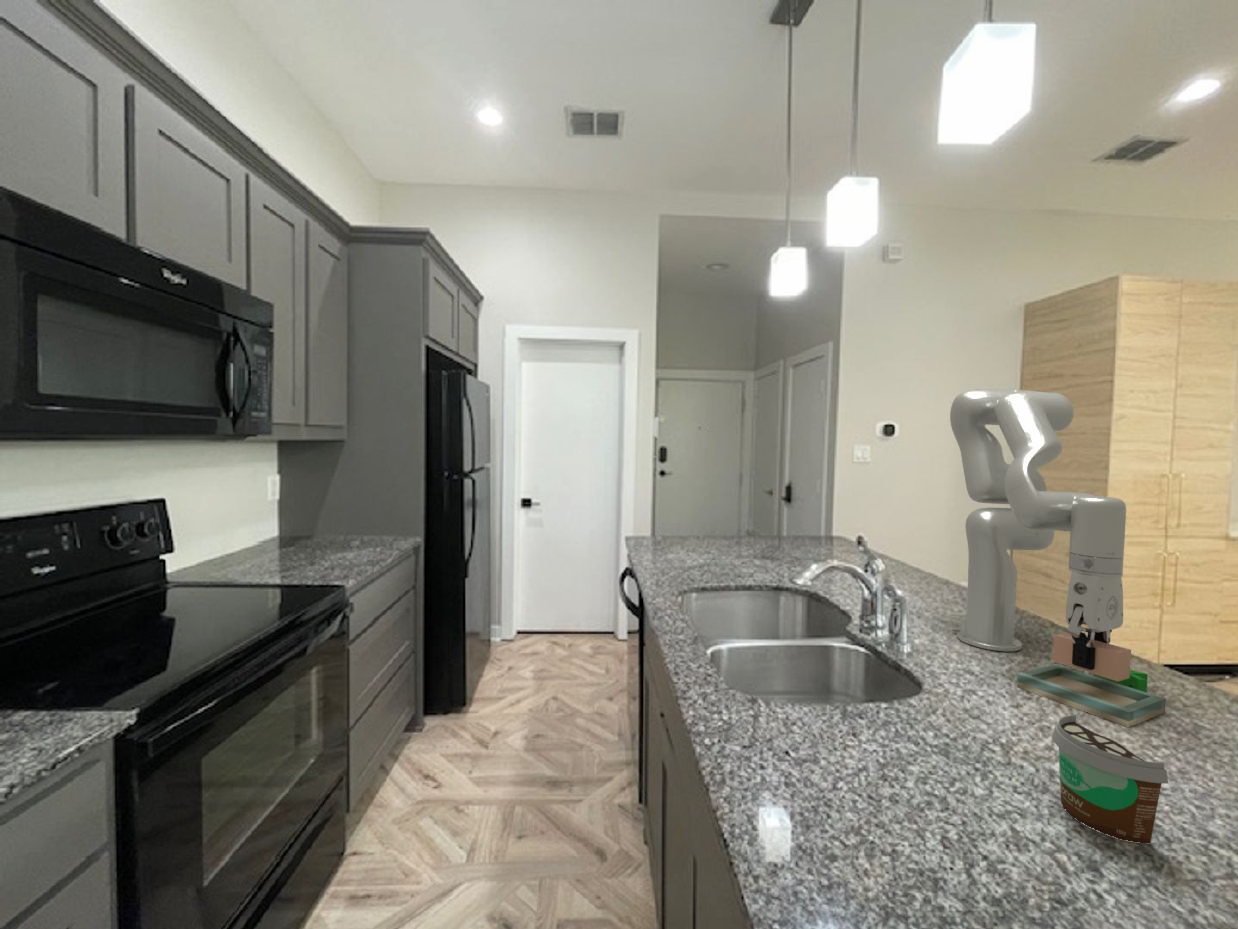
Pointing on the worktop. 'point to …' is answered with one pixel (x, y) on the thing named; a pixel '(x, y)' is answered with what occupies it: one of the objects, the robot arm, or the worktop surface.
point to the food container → (1107, 783)
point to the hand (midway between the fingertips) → (1089, 664)
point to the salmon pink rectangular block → (1107, 657)
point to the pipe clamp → (1132, 680)
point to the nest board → (1092, 694)
